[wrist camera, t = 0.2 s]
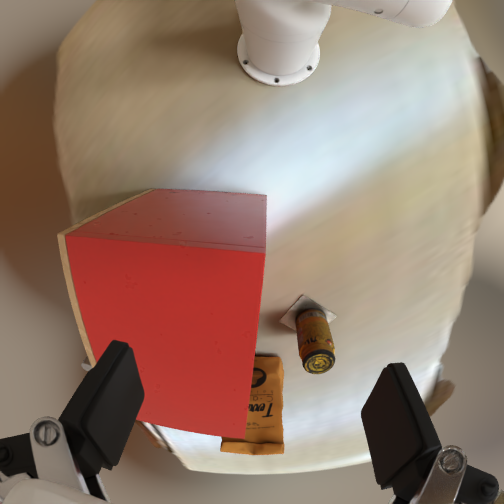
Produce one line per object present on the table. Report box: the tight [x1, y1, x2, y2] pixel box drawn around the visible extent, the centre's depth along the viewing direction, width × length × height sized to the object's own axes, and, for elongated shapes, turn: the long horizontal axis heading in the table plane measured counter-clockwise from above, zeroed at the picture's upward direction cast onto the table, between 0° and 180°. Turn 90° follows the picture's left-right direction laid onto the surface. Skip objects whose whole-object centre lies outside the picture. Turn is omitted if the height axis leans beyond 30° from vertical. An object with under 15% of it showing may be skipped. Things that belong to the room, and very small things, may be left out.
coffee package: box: [220, 357, 284, 455], centre depth 46 cm, size 10×12×22 cm
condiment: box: [279, 295, 336, 374], centre depth 46 cm, size 7×8×12 cm
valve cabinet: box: [65, 189, 267, 439], centre depth 37 cm, size 18×26×24 cm
